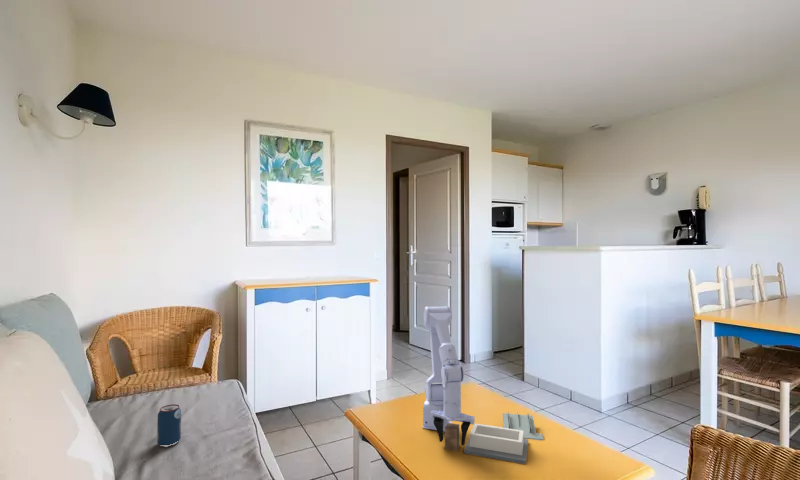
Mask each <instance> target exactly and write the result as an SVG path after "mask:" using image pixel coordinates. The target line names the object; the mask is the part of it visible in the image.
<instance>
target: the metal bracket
mask: <svg viewBox="0 0 800 480" xmlns="http://www.w3.org/2000/svg"><path fill="white" fill-rule="evenodd" d="M501 415H502V424H503V428H509V429H516V430H522V431H524V439H528V440H533V441H544V436H543V433H538V432H537V431H536V426H535V420H534V416H533V415H530V413H526V414H519V412H518V410H517V411H516V413H515V414H514V413H510V412H509V411H507V412H506V413H504V412H503V413H502V414H501Z"/></svg>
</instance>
